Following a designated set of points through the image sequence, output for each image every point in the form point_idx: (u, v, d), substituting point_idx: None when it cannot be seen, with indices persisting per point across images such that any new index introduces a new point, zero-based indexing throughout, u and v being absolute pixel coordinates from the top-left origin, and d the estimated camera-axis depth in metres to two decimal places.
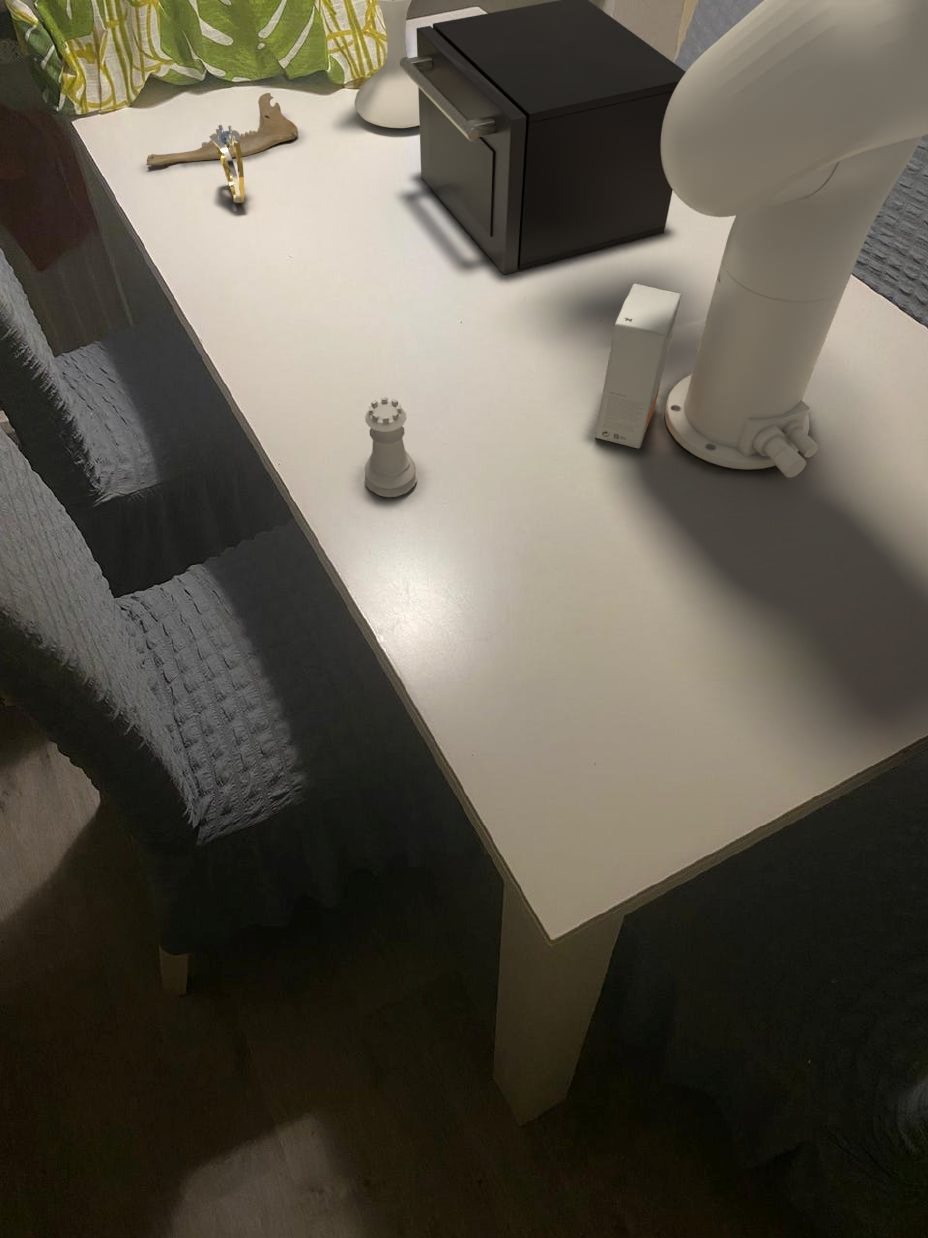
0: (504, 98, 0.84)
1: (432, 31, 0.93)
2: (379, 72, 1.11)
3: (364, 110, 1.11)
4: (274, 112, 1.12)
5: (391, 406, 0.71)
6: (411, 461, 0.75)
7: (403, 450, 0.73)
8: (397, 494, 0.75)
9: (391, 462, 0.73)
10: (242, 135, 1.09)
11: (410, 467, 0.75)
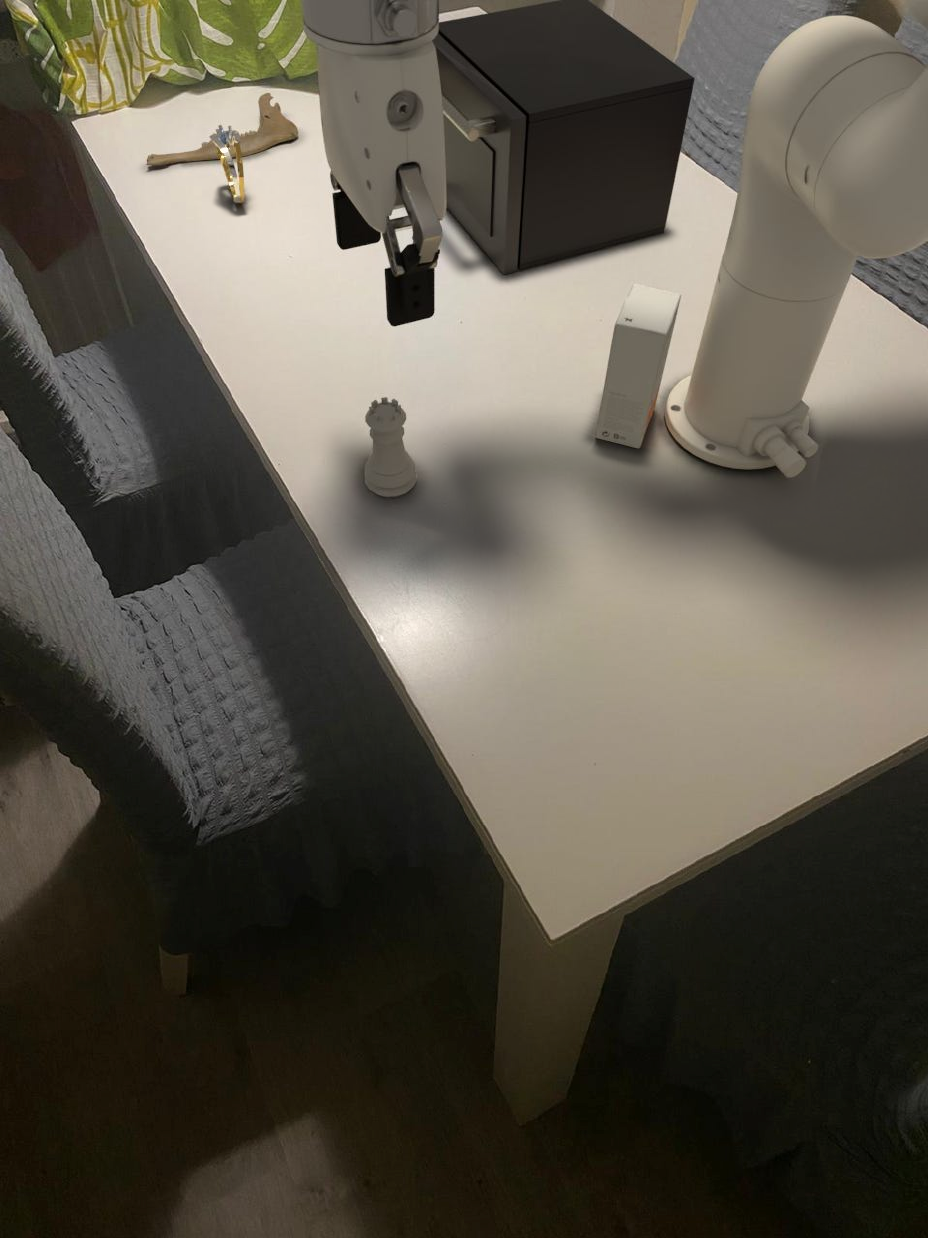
0: (504, 98, 0.84)
1: None
2: None
3: None
4: (274, 112, 1.12)
5: (391, 407, 0.70)
6: (411, 461, 0.75)
7: (403, 450, 0.73)
8: (397, 494, 0.75)
9: (391, 462, 0.73)
10: (242, 135, 1.09)
11: (410, 467, 0.75)
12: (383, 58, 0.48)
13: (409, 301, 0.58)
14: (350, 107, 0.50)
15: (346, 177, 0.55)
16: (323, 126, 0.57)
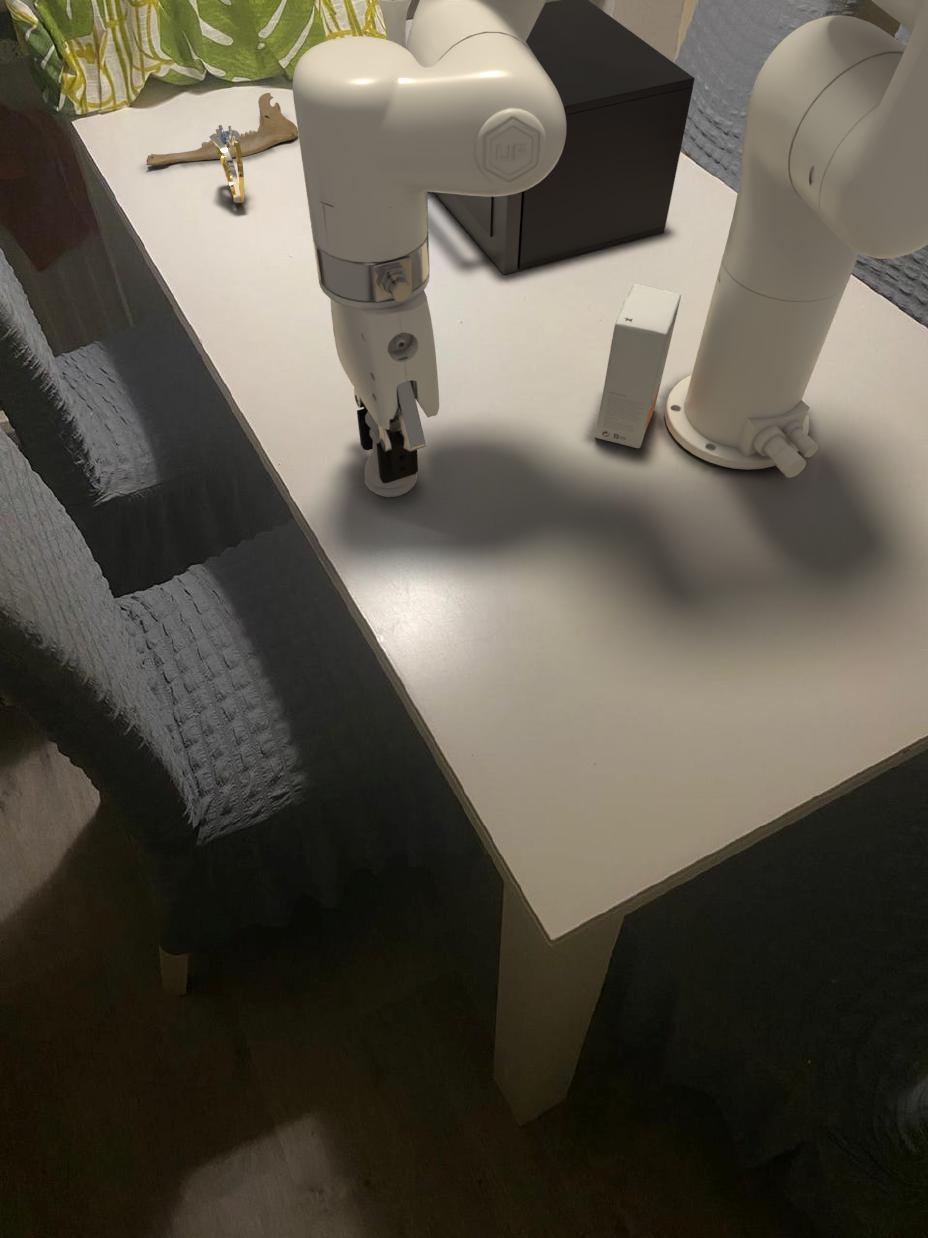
0: None
1: None
2: None
3: None
4: (274, 112, 1.12)
5: None
6: None
7: None
8: (397, 494, 0.75)
9: None
10: (242, 135, 1.09)
11: None
12: (384, 311, 0.58)
13: (397, 466, 0.71)
14: (358, 341, 0.61)
15: (355, 381, 0.66)
16: (335, 335, 0.68)
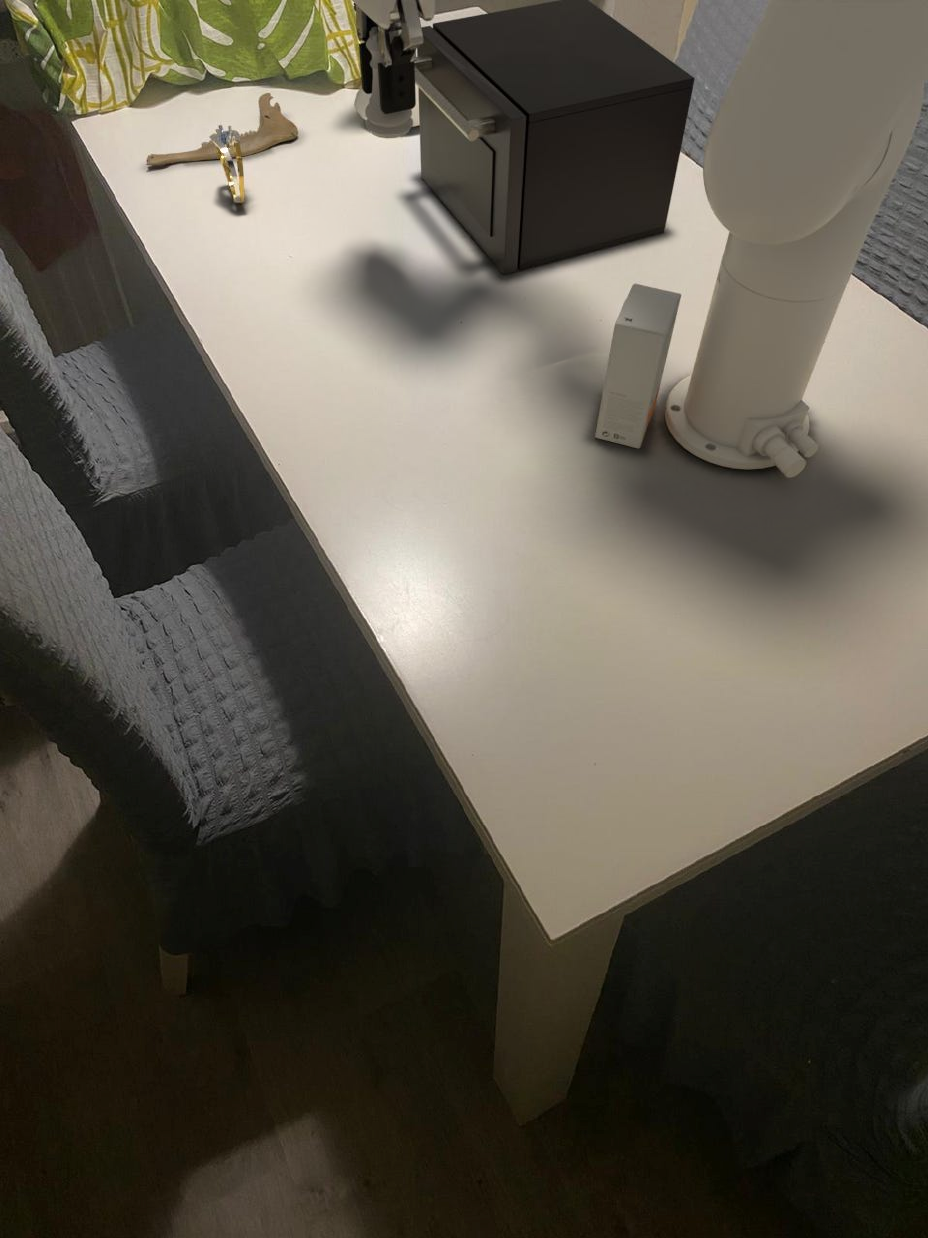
0: (504, 98, 0.84)
1: (432, 31, 0.93)
2: None
3: (364, 110, 1.11)
4: (274, 112, 1.12)
5: (389, 32, 0.77)
6: None
7: None
8: (395, 133, 0.81)
9: None
10: (242, 135, 1.09)
11: None
12: None
13: (397, 89, 0.77)
14: None
15: None
16: None
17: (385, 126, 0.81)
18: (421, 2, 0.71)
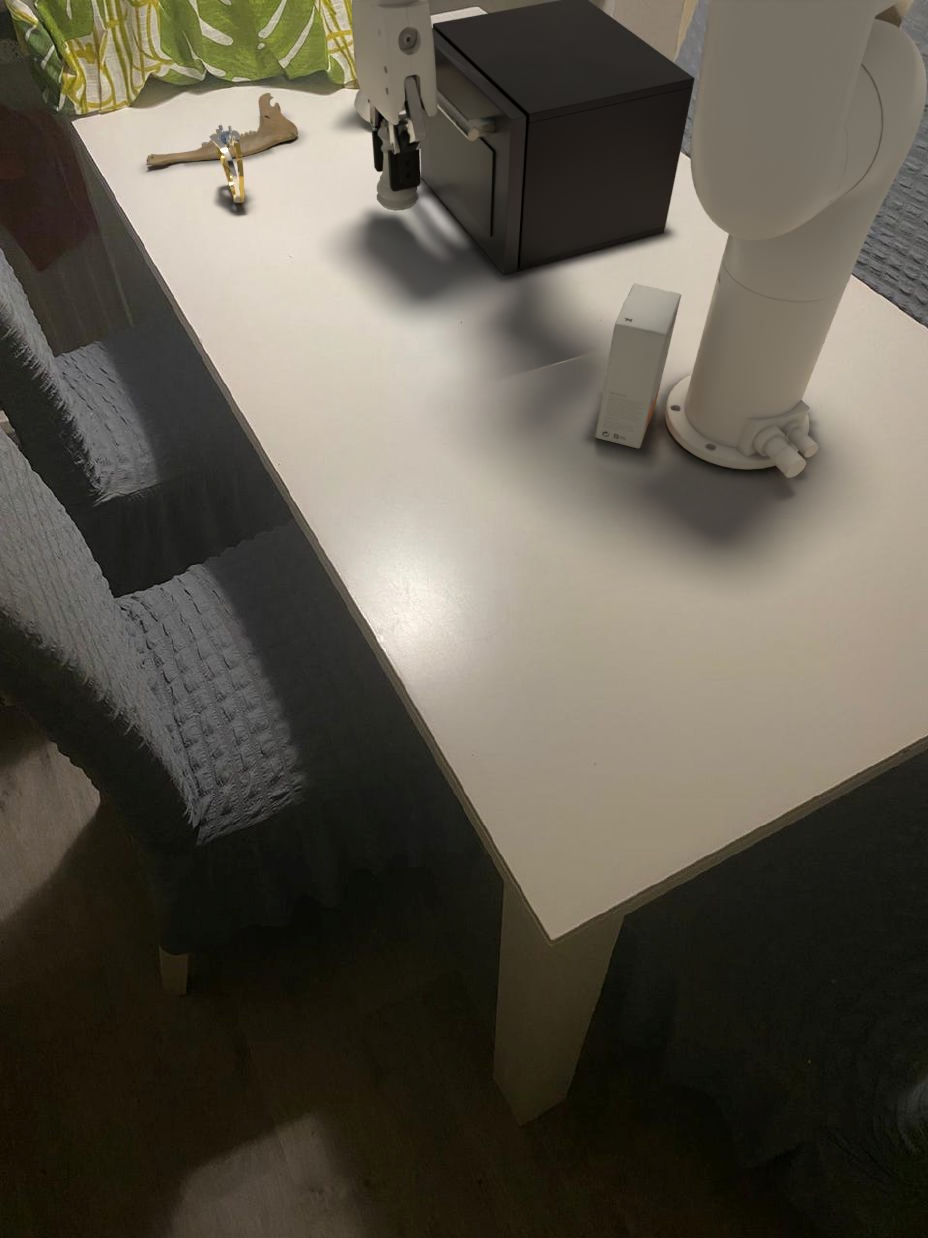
0: (504, 98, 0.84)
1: None
2: None
3: (364, 110, 1.11)
4: (274, 112, 1.12)
5: None
6: None
7: None
8: (403, 206, 0.93)
9: None
10: (242, 135, 1.09)
11: None
12: (395, 6, 0.77)
13: (404, 172, 0.90)
14: (375, 40, 0.80)
15: (371, 89, 0.85)
16: (355, 57, 0.86)
17: (394, 200, 0.93)
18: (425, 104, 0.83)
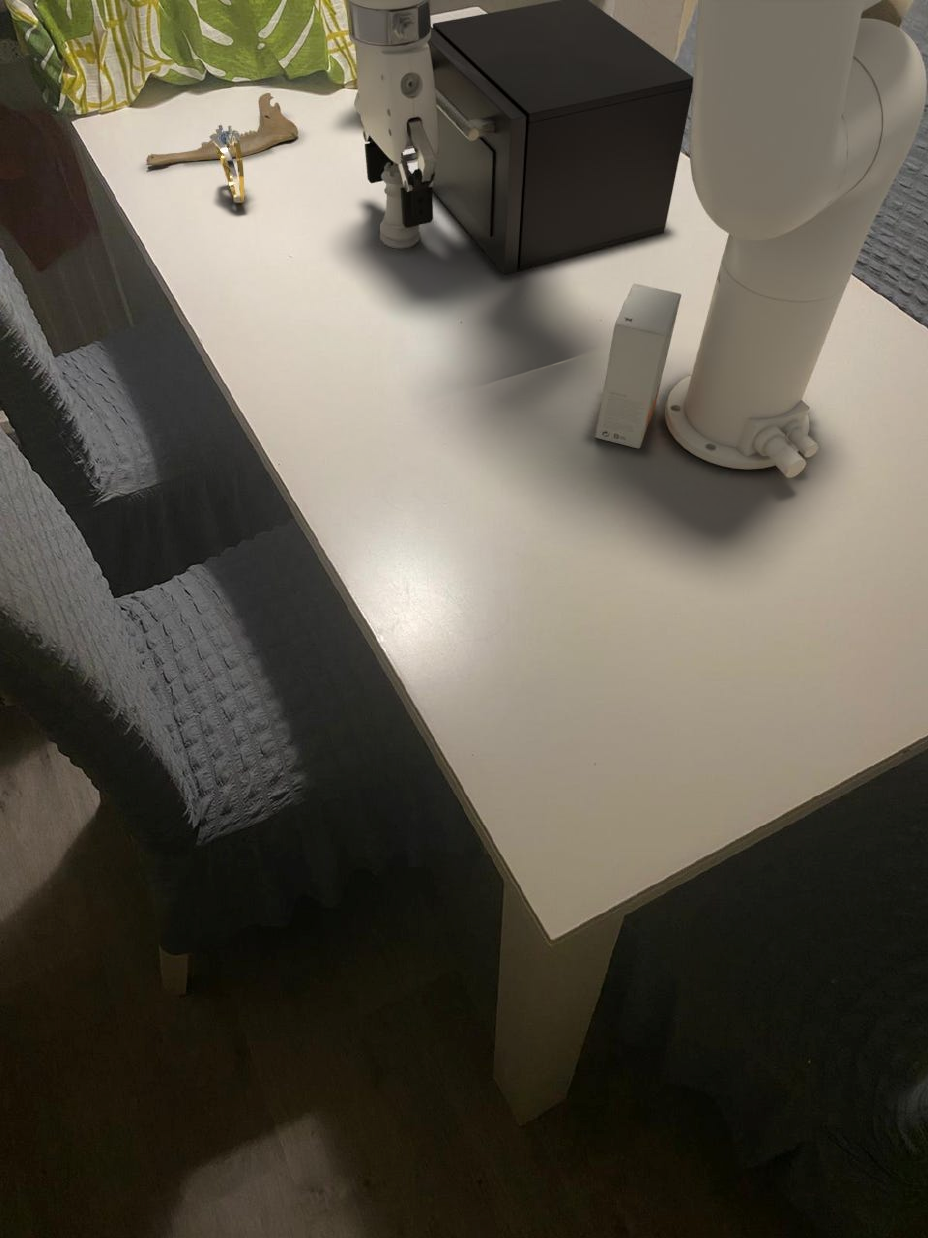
0: (504, 98, 0.84)
1: (432, 31, 0.93)
2: None
3: None
4: (274, 112, 1.12)
5: None
6: None
7: None
8: (405, 245, 0.97)
9: (400, 215, 0.95)
10: (242, 135, 1.09)
11: None
12: (398, 53, 0.80)
13: (416, 209, 0.90)
14: (378, 84, 0.83)
15: (375, 130, 0.88)
16: (359, 98, 0.89)
17: (396, 240, 0.96)
18: None
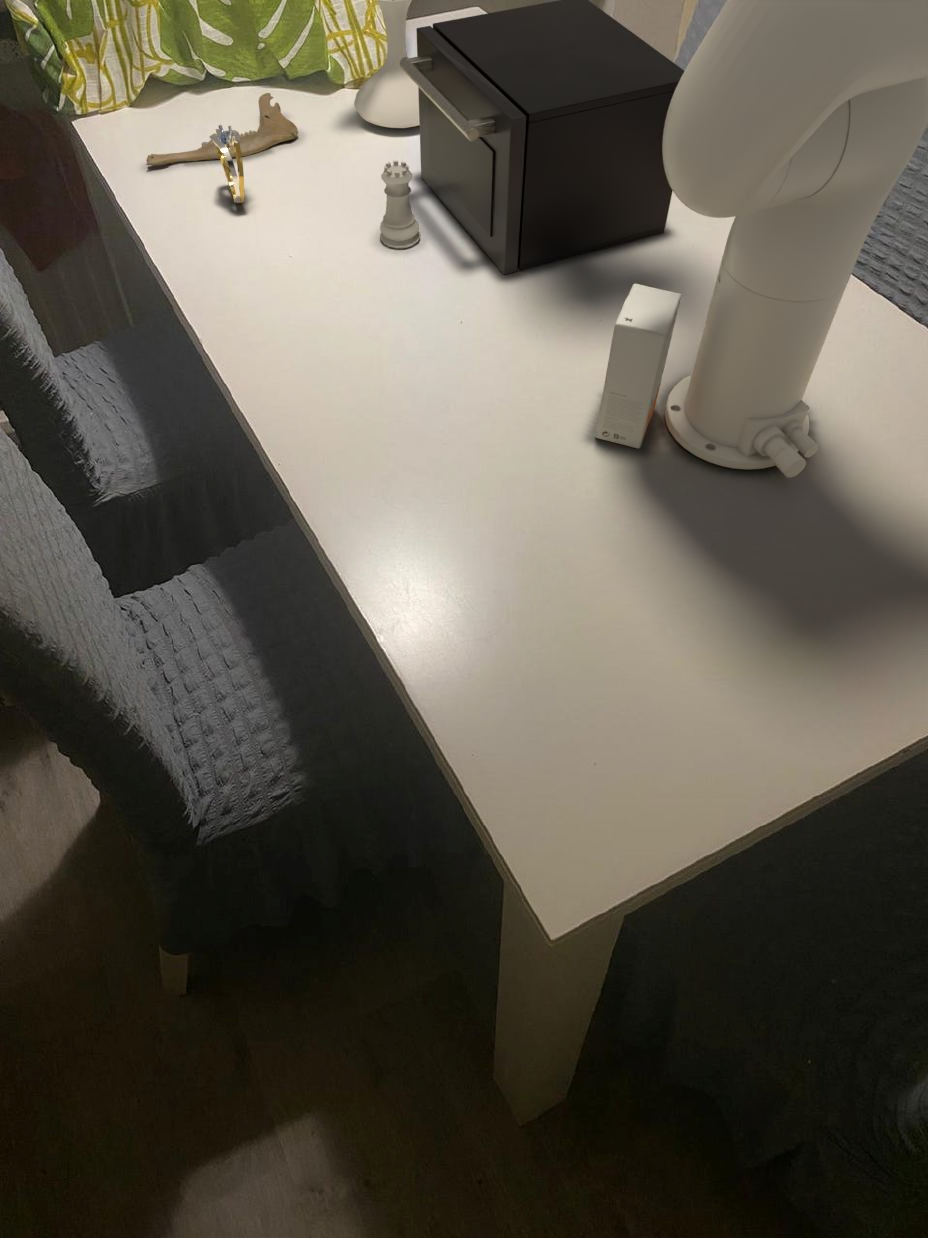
0: (504, 98, 0.84)
1: (432, 31, 0.93)
2: (379, 72, 1.11)
3: (364, 110, 1.11)
4: (274, 112, 1.12)
5: (401, 167, 0.92)
6: (416, 220, 0.97)
7: (410, 207, 0.95)
8: (405, 245, 0.97)
9: (400, 215, 0.95)
10: (242, 135, 1.09)
11: (415, 224, 0.97)
12: None
13: None
14: None
15: None
16: None
17: (396, 240, 0.96)
18: None
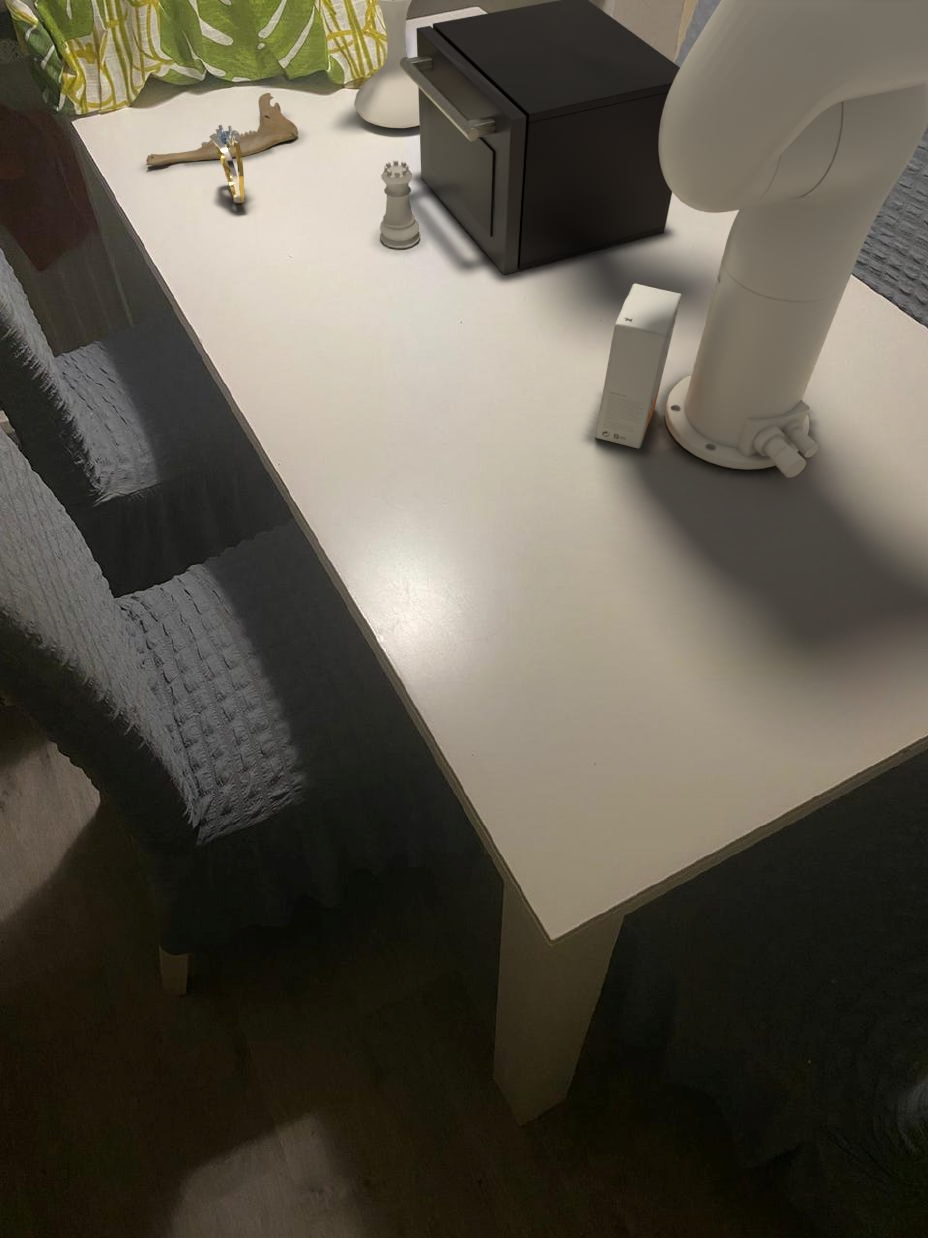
0: (504, 98, 0.84)
1: (432, 31, 0.93)
2: (379, 72, 1.11)
3: (364, 110, 1.11)
4: (274, 112, 1.12)
5: (401, 167, 0.92)
6: (416, 220, 0.97)
7: (410, 207, 0.95)
8: (405, 245, 0.97)
9: (400, 215, 0.95)
10: (242, 135, 1.09)
11: (415, 224, 0.97)
12: None
13: None
14: None
15: None
16: None
17: (396, 240, 0.96)
18: None
